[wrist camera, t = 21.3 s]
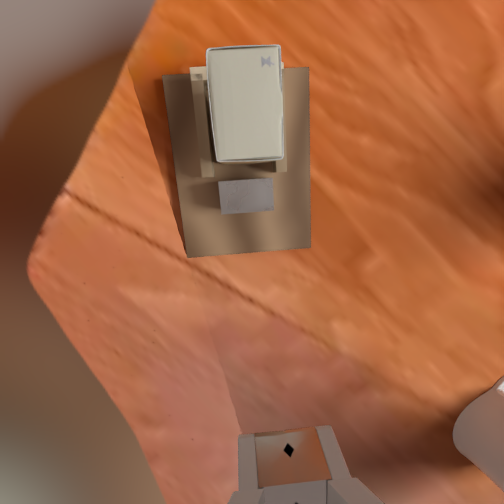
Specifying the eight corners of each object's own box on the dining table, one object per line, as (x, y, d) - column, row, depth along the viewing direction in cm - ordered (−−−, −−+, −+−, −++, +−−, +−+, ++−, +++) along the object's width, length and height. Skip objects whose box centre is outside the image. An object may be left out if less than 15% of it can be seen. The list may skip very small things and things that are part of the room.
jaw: (268, 177, 29) (272, 177, 25) (269, 206, 29) (274, 210, 26) (220, 180, 28) (218, 181, 25) (223, 210, 29) (221, 214, 26)
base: (306, 71, 27) (318, 53, 23) (308, 245, 32) (318, 255, 28) (165, 79, 27) (152, 62, 23) (189, 254, 32) (182, 266, 28)
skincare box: (216, 99, 27) (202, 39, 15) (261, 97, 27) (281, 35, 15) (222, 168, 28) (214, 164, 17) (264, 166, 28) (285, 159, 17)
